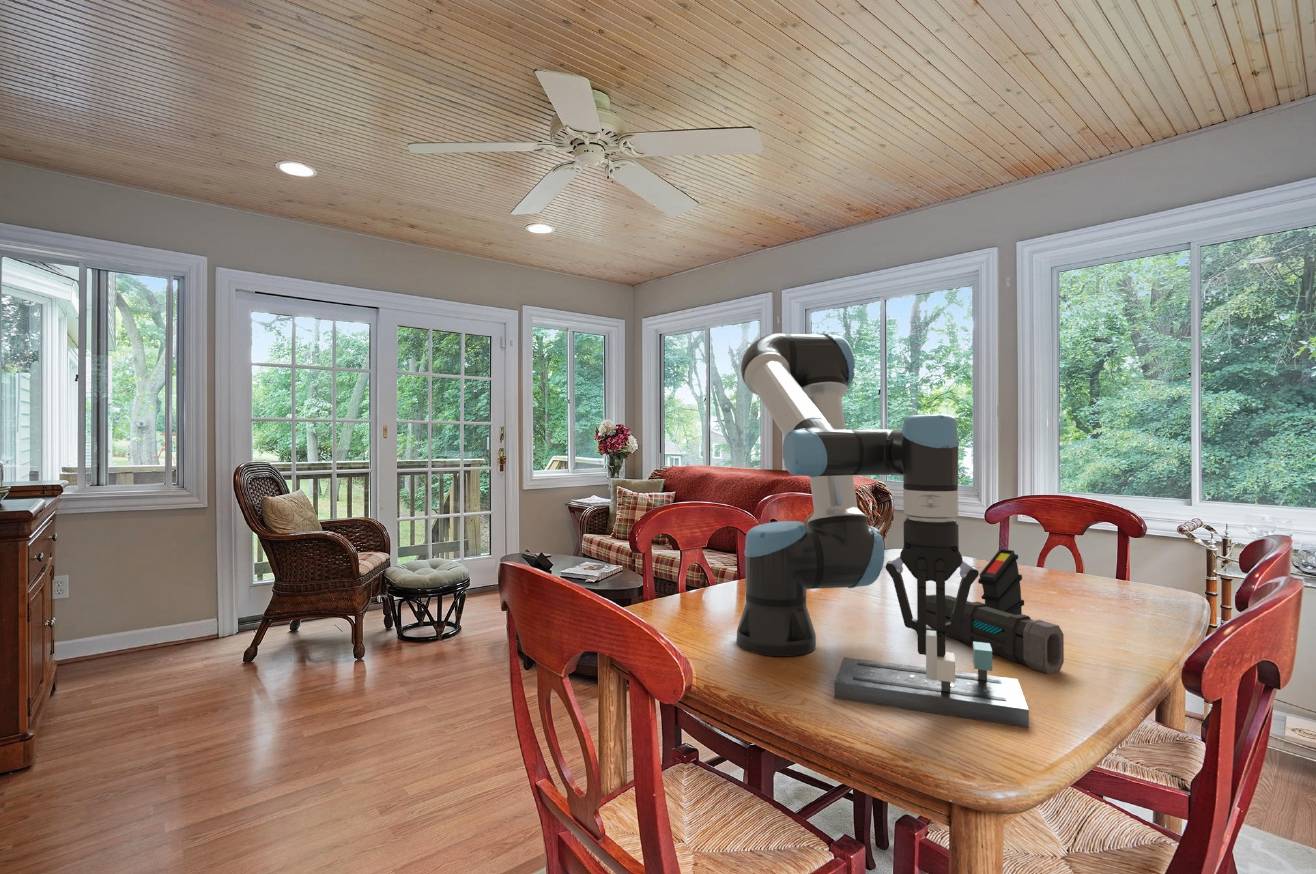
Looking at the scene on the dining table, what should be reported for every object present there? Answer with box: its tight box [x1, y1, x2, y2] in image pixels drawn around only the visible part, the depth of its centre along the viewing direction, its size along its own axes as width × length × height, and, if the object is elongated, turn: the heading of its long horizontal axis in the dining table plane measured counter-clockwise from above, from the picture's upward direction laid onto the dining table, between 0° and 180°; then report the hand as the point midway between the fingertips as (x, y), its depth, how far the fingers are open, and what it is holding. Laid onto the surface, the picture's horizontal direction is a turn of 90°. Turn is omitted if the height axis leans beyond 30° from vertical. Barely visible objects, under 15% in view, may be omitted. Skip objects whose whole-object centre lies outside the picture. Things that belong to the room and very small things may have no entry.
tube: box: [926, 594, 1065, 675], centre depth 120 cm, size 11×7×30 cm
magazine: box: [977, 548, 1025, 615], centre depth 138 cm, size 4×13×15 cm, turn 127°
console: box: [833, 656, 1030, 729], centre depth 97 cm, size 26×12×3 cm, turn 67°
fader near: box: [937, 651, 956, 692], centre depth 93 cm, size 2×4×5 cm, turn 157°
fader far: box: [972, 642, 993, 680], centre depth 97 cm, size 2×4×5 cm, turn 157°
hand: (931, 676), depth 94 cm, fingers closed
